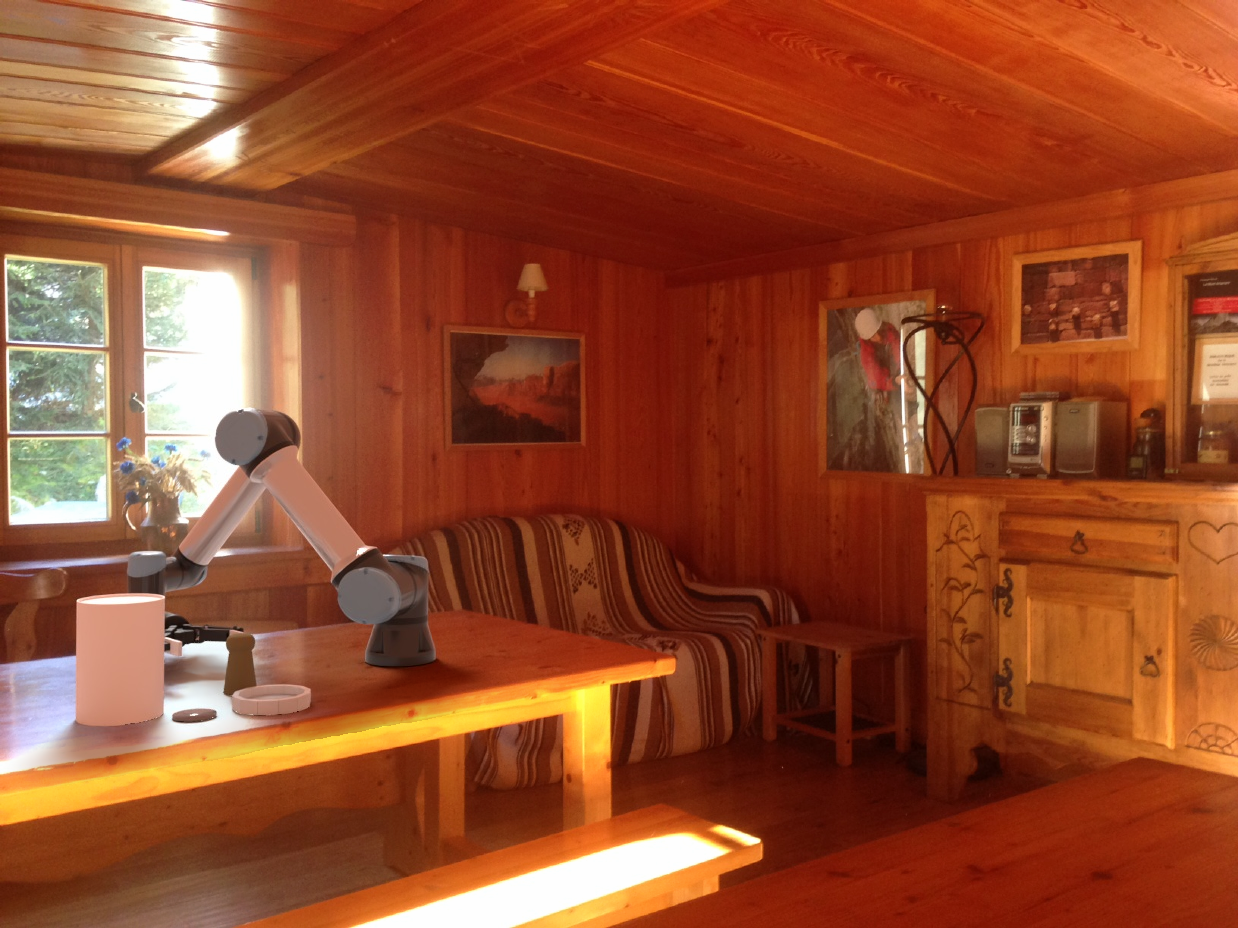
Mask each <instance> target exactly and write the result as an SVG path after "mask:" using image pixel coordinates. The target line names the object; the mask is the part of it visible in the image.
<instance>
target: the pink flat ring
mask: <svg viewBox="0 0 1238 928" xmlns="http://www.w3.org/2000/svg"><path fill="white" fill-rule="evenodd" d="M311 691H312V689H311V688H309V687H307V686H304V685H299V684H298V685H297V684H284V683H283V684H282V683H281V684H264V685H262V684H261V685H256V686H255V687H248V688H245V689H242V690H239V691H235V692H234V694H233V695H231V710H234V711H237V712H238V713H237V712H236V713H237V714H239V713H241V714H240V715H244V714H253V715H252V716H254V715H266V716H270V715H269V714H273V715H272V716H275V715H274V714H282V715H287V714H292V713H293V712H294V713H298V712H297V711H299V712H301V711H303V710H306V709H309V708H310V706H311V702H312V701H311V699H312V698H311V697H312V692H311ZM308 707H309V708H308ZM234 711H233V712H234Z"/></svg>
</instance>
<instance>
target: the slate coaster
mask: <svg viewBox="0 0 1238 928" xmlns="http://www.w3.org/2000/svg"><path fill="white" fill-rule="evenodd" d="M216 715H217V716H218V713H217V710H215V709H214V708H213V709H211V708H191V709H184V710H179V711H176V712H174V713H172V715H171V718H172V720H173V721H174V720H176V721H175V722H177V721H184V722H183V723H194V722H193V721H199V722H202V721H201V720H205V721H209V720H208V719H210V718H212V717H215V718H216V717H217V716H216ZM210 720H211V719H210ZM191 721H192V722H191Z"/></svg>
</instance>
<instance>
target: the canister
mask: <svg viewBox="0 0 1238 928" xmlns="http://www.w3.org/2000/svg"><path fill="white" fill-rule="evenodd" d="M165 604H166V595H165V596H162V595H157V594H127V593H113V594H111V593H110V594H102V595H101V594H100V595H91V596H87V597H86V596H85V597H81V598H78V599H77V600H76V623H75V625H76V626H75V627H76V629H75V630H76V633H75V634H76V636H75V637H76V639H75V641H76V643H75V644H76V645H75V650H76V651H75V653H76V654H75V722H76V723H78V724H80V725H84V726H89V727H115V726H118V727H119V726H125V724H128V725H131V724H130V723H135V724H140V723H139V722H141V723H144V722H143V721H145V722H147V721H146V720H149V721H152V720H151V719H153V720H155V719H157V718H156V717H158V718H160V717H162V716H163V715H164V712H165V711H164V710H165V709H164V706H165V698H164V697H165V652H164V625H165V611H166V610H165V608H166V605H165ZM162 714H163V715H162ZM161 715H162V716H161ZM154 718H155V719H154Z"/></svg>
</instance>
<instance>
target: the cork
mask: <svg viewBox="0 0 1238 928" xmlns="http://www.w3.org/2000/svg"><path fill="white" fill-rule="evenodd" d="M255 645H256V639H255V636H254V635H253V634H251V633H248V632H244V633H236V634H232V635H230V636H229V637H228V638H227V640H226V642H225V646H226V650H227V651H228V657H227V664H226V670H225V677H224V685H223V692H222V693H224V695H225V694H226V696H232V695H233V694H234V692H235V691H239V690H242V689H245V688H248V687H255V686H257V680H256V679H257V677H256V672H255V671H256V670H255V663H254V662H255V661H254V658H253V657H254V655H253V650H254V649H255Z"/></svg>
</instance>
